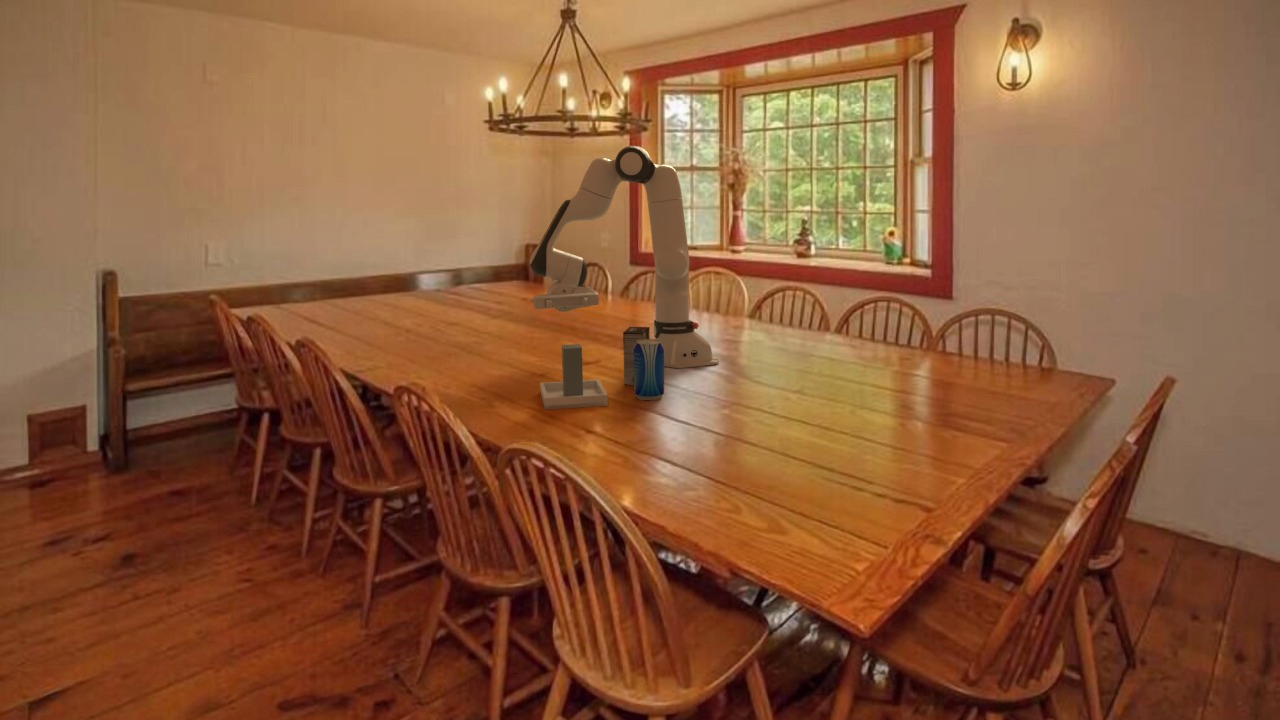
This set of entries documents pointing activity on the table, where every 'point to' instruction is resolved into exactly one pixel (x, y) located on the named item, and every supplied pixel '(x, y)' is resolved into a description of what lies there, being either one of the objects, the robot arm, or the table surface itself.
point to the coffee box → (632, 350)
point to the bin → (556, 400)
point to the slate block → (572, 370)
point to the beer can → (648, 369)
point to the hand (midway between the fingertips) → (568, 303)
